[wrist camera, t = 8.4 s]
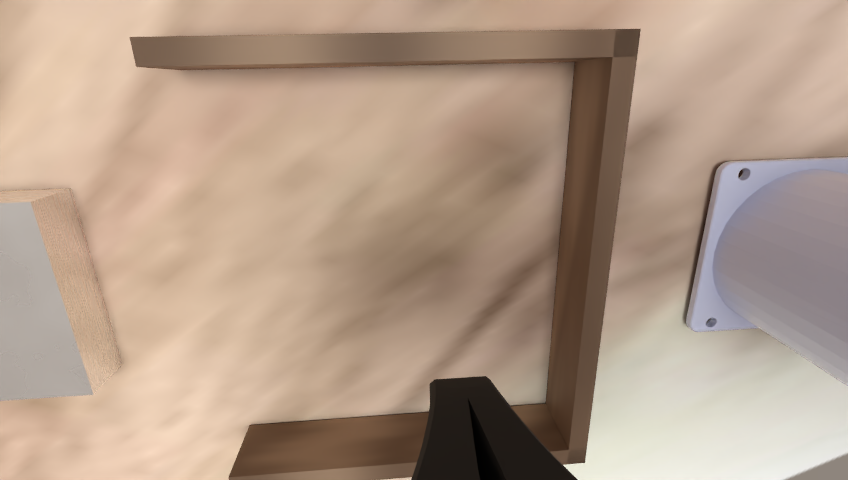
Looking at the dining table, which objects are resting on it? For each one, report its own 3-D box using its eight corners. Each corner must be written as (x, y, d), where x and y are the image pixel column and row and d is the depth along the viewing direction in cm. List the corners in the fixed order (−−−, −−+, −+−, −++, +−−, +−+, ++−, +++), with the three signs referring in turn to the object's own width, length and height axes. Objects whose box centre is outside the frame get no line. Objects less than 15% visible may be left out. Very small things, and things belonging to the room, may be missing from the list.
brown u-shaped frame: (597, 38, 17) (640, 29, 14) (560, 415, 22) (584, 462, 20) (176, 45, 16) (129, 37, 13) (252, 438, 21) (231, 491, 19)
